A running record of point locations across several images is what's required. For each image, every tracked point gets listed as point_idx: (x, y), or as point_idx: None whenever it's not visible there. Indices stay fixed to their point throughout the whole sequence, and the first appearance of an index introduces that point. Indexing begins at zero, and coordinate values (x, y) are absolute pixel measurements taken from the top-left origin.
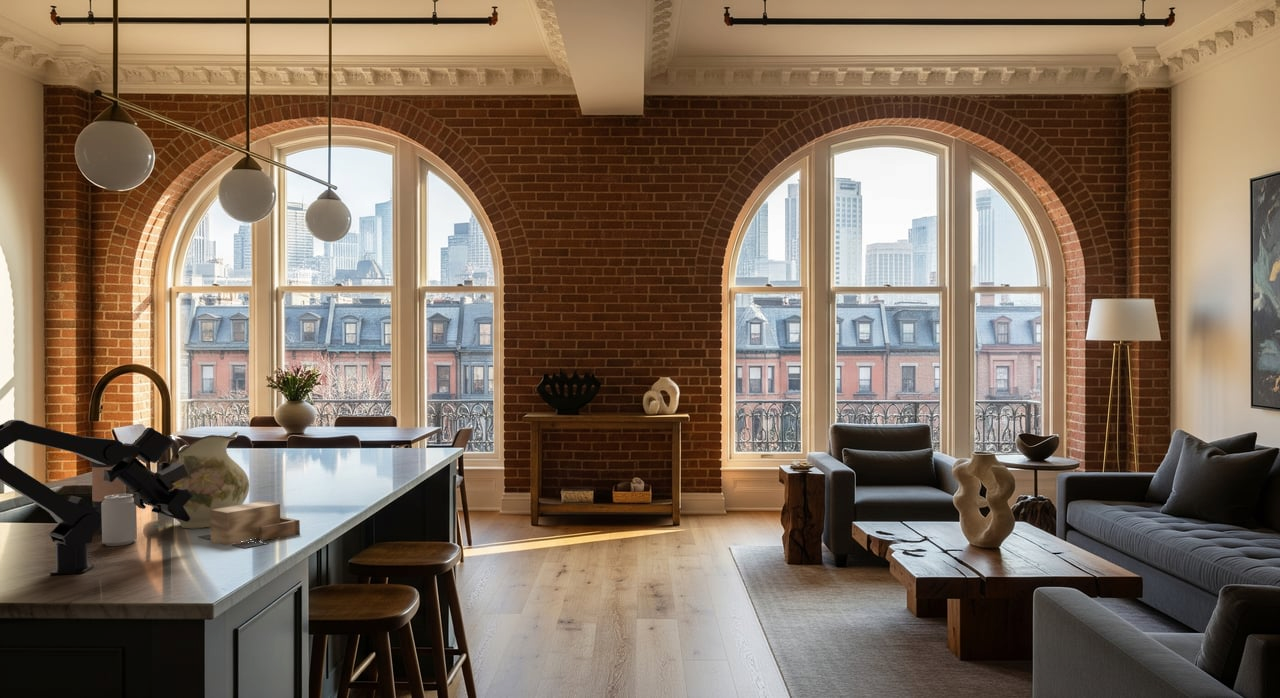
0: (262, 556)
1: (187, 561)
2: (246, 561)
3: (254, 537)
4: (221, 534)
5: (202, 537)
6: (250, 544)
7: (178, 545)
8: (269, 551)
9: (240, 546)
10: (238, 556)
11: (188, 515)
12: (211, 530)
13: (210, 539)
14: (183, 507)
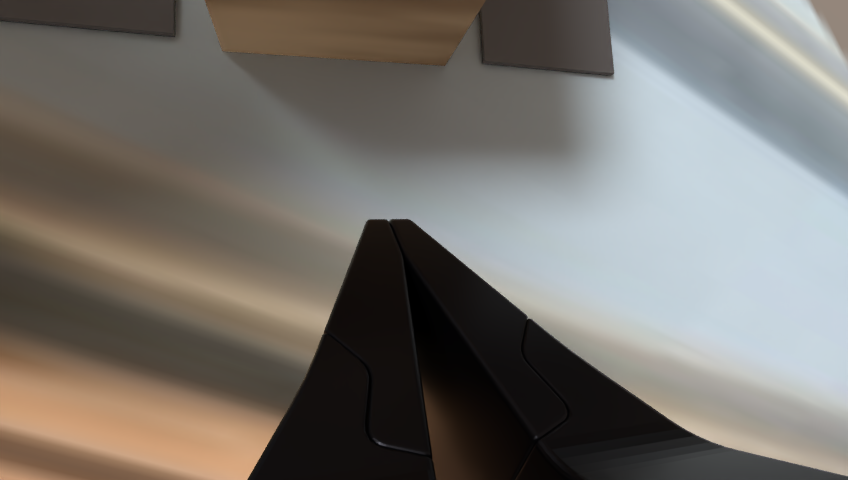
0: (805, 128)
1: (665, 402)
2: (840, 218)
3: None
4: (383, 25)
5: (40, 18)
6: (563, 9)
7: (150, 254)
8: (744, 53)
9: (569, 65)
10: (739, 188)
11: (434, 241)
12: (221, 2)
13: (172, 26)
14: (552, 339)
